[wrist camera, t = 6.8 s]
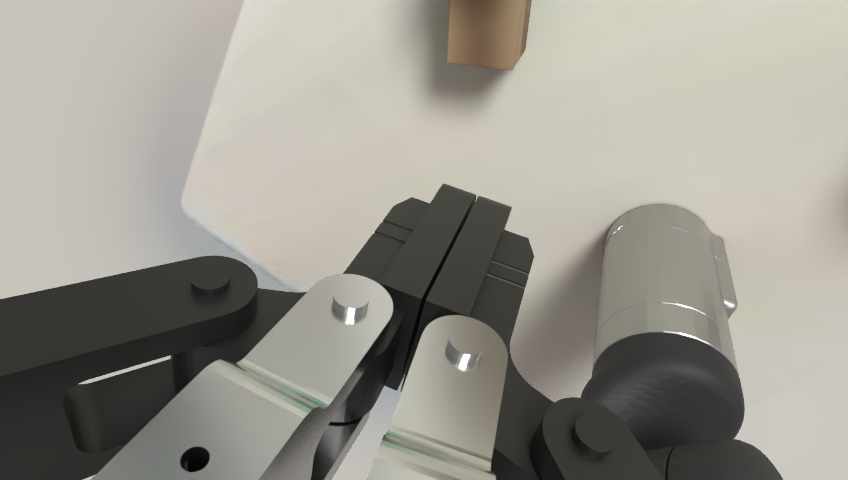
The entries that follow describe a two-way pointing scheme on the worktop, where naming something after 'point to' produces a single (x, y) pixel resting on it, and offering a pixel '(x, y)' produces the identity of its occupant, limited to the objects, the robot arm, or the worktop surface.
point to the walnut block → (487, 32)
